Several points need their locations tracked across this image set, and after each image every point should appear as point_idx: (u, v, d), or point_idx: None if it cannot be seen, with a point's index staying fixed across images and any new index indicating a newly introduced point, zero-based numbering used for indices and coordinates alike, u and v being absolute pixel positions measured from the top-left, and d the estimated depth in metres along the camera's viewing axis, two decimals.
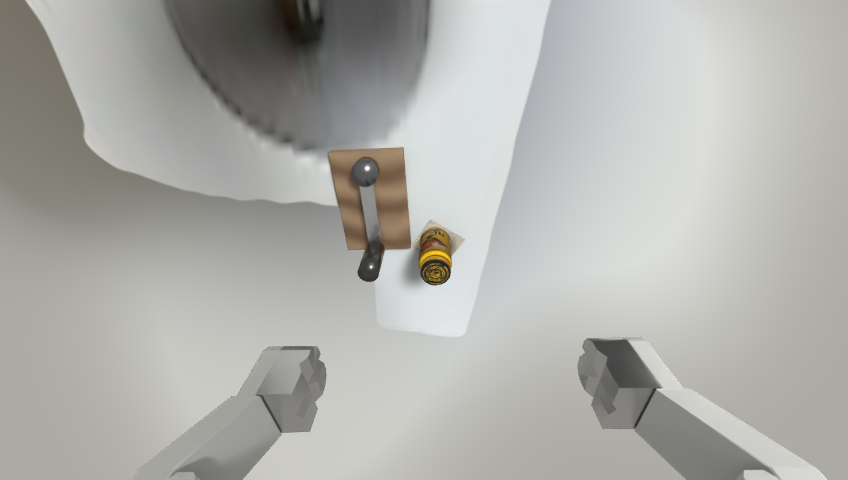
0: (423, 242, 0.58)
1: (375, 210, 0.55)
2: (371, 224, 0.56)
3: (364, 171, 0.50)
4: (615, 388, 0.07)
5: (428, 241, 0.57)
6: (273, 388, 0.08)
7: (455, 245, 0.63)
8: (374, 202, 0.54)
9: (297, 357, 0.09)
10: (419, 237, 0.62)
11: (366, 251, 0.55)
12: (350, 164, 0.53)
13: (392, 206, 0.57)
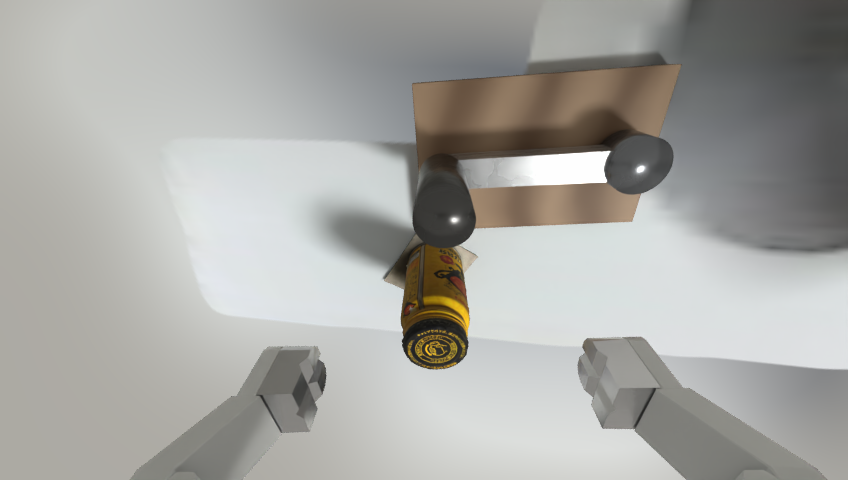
0: (454, 269, 0.29)
1: (543, 182, 0.24)
2: (509, 171, 0.24)
3: (647, 169, 0.23)
4: (615, 388, 0.07)
5: (463, 283, 0.29)
6: (273, 388, 0.08)
7: None
8: (563, 181, 0.24)
9: (297, 357, 0.09)
10: None
11: (463, 177, 0.21)
12: (636, 117, 0.24)
13: (522, 199, 0.28)
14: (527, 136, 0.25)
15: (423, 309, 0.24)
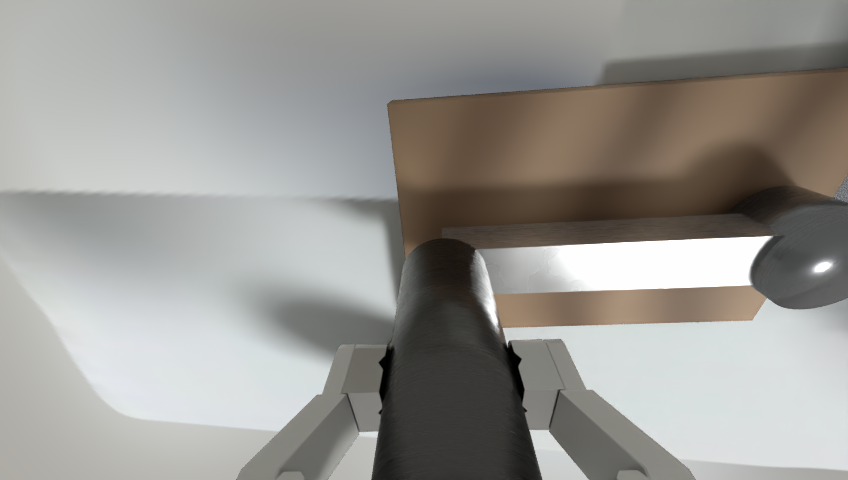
0: None
1: (632, 285, 0.13)
2: (571, 267, 0.13)
3: (845, 270, 0.12)
4: (523, 390, 0.07)
5: None
6: (358, 386, 0.08)
7: None
8: (670, 284, 0.13)
9: (374, 355, 0.08)
10: None
11: (494, 312, 0.09)
12: (802, 164, 0.13)
13: None
14: (596, 195, 0.14)
15: None
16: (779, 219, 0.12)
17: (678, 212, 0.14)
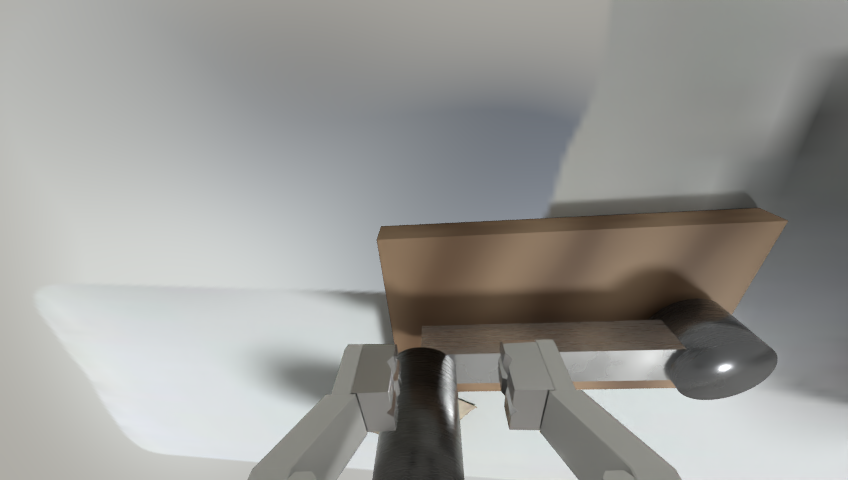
0: None
1: (573, 378, 0.16)
2: None
3: (734, 375, 0.15)
4: (513, 390, 0.07)
5: None
6: (367, 386, 0.08)
7: None
8: (603, 378, 0.16)
9: (382, 355, 0.08)
10: None
11: (453, 423, 0.13)
12: (710, 281, 0.16)
13: None
14: (547, 299, 0.17)
15: None
16: (685, 333, 0.15)
17: (615, 312, 0.18)
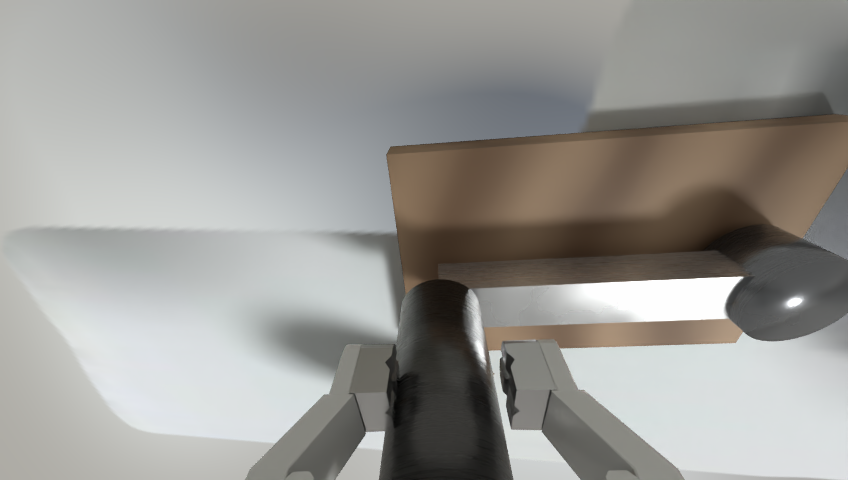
0: None
1: (616, 319, 0.14)
2: (558, 304, 0.13)
3: (812, 307, 0.13)
4: (515, 390, 0.07)
5: None
6: (365, 386, 0.08)
7: None
8: (651, 317, 0.14)
9: (380, 355, 0.08)
10: None
11: (484, 355, 0.10)
12: (775, 204, 0.14)
13: None
14: (583, 232, 0.15)
15: None
16: (751, 259, 0.13)
17: (660, 247, 0.15)
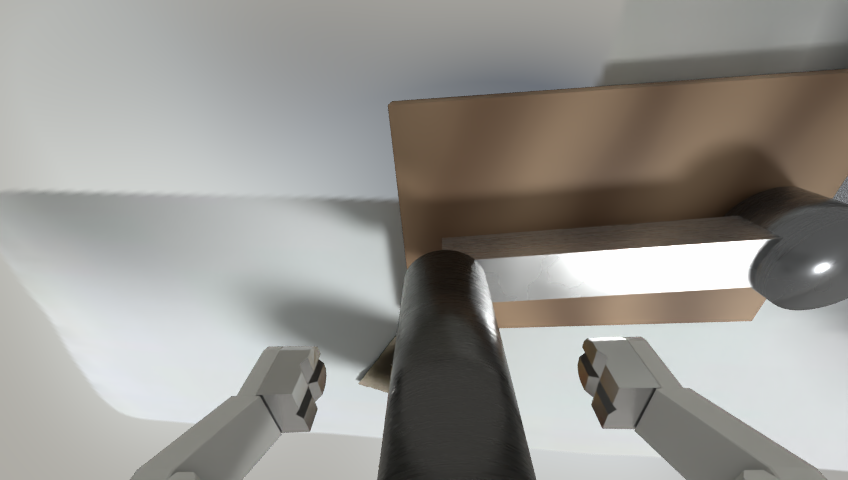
0: None
1: (632, 290, 0.13)
2: (570, 274, 0.13)
3: (844, 271, 0.12)
4: (615, 388, 0.07)
5: None
6: (273, 388, 0.08)
7: None
8: (669, 288, 0.13)
9: (297, 357, 0.09)
10: None
11: (492, 323, 0.10)
12: (802, 165, 0.13)
13: None
14: (596, 195, 0.14)
15: None
16: (776, 221, 0.12)
17: (678, 213, 0.14)
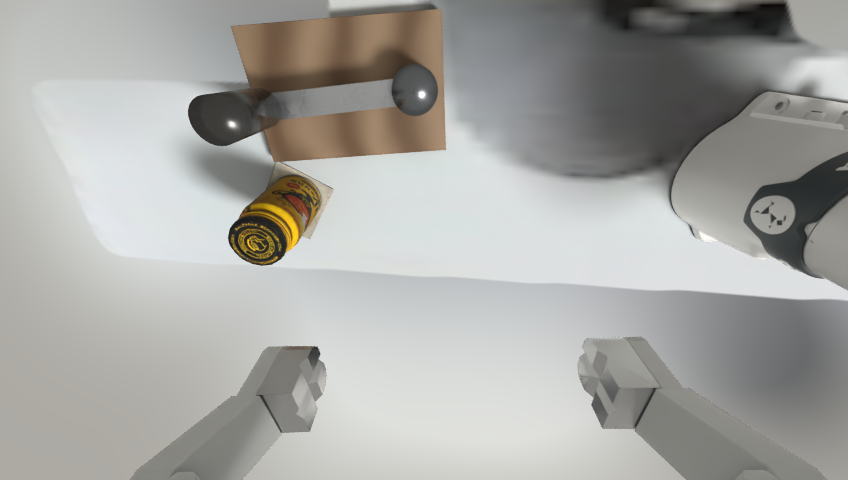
0: (297, 192, 0.34)
1: (346, 110, 0.30)
2: (315, 101, 0.29)
3: (420, 92, 0.29)
4: (615, 388, 0.07)
5: (304, 203, 0.34)
6: (273, 388, 0.08)
7: None
8: (362, 108, 0.30)
9: (297, 357, 0.09)
10: (296, 172, 0.37)
11: (257, 99, 0.26)
12: (420, 55, 0.30)
13: (350, 130, 0.33)
14: (337, 72, 0.31)
15: (248, 212, 0.29)
16: None
17: None
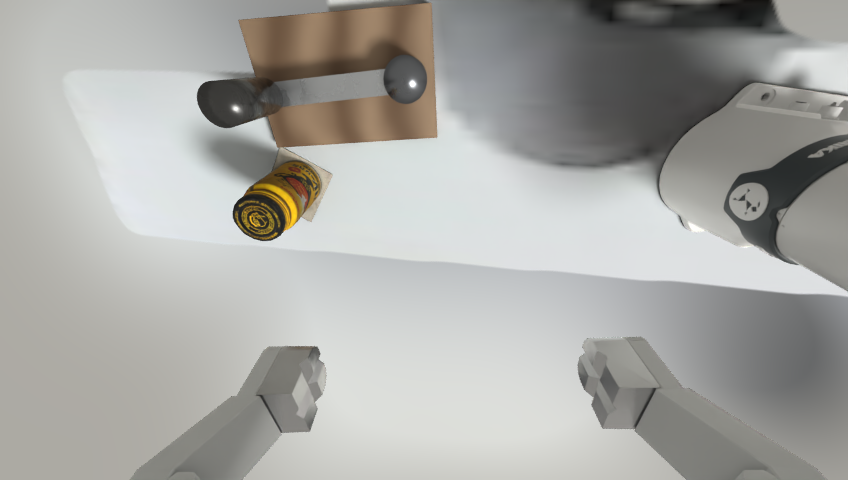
0: (298, 175, 0.37)
1: (342, 98, 0.32)
2: (313, 89, 0.32)
3: (410, 81, 0.31)
4: (615, 388, 0.07)
5: (303, 186, 0.36)
6: (273, 388, 0.08)
7: None
8: (356, 96, 0.32)
9: (297, 357, 0.09)
10: (298, 158, 0.40)
11: (260, 86, 0.29)
12: (412, 46, 0.32)
13: (347, 118, 0.36)
14: (335, 63, 0.33)
15: (251, 192, 0.32)
16: None
17: None
